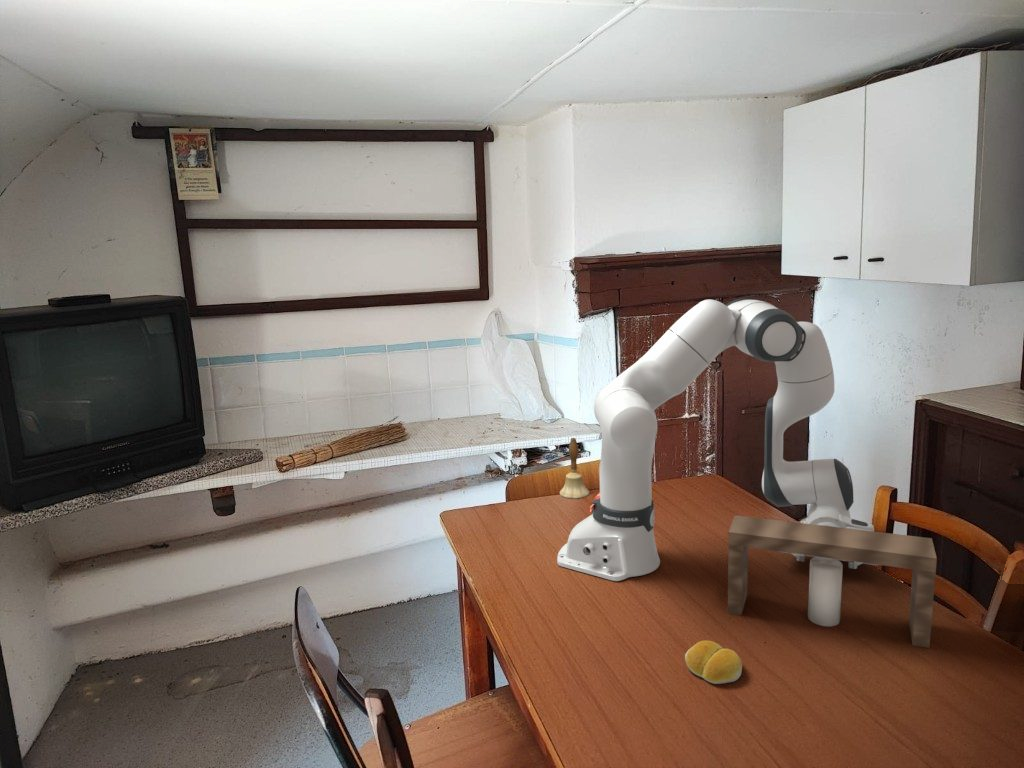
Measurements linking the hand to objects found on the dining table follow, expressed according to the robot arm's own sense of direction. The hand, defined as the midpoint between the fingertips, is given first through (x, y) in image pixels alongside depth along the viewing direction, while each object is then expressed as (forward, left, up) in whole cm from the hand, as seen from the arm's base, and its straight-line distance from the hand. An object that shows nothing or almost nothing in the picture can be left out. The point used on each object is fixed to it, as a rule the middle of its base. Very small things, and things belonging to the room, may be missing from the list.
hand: (826, 561), depth 138 cm
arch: (0, -11, -6) cm, 13 cm away
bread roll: (-16, -33, -6) cm, 38 cm away
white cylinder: (0, -11, -6) cm, 13 cm away
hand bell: (-65, +34, -6) cm, 73 cm away
